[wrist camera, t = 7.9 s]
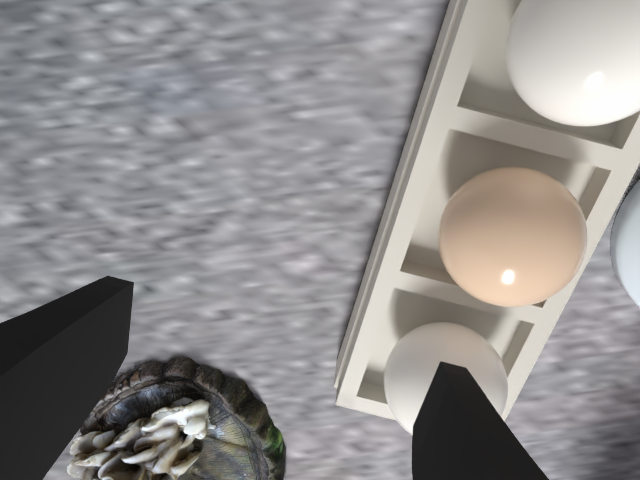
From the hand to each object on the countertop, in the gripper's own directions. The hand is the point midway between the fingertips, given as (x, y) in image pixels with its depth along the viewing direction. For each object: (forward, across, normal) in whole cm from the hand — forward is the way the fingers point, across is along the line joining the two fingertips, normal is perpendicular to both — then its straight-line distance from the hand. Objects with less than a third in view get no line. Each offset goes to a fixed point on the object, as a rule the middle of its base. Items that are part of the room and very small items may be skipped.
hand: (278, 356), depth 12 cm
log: (+10, +4, +15) cm, 19 cm away
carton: (+10, -6, -2) cm, 12 cm away
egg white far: (+8, -6, +4) cm, 11 cm away
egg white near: (+8, -6, -8) cm, 13 cm away
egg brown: (+8, -6, -2) cm, 10 cm away
